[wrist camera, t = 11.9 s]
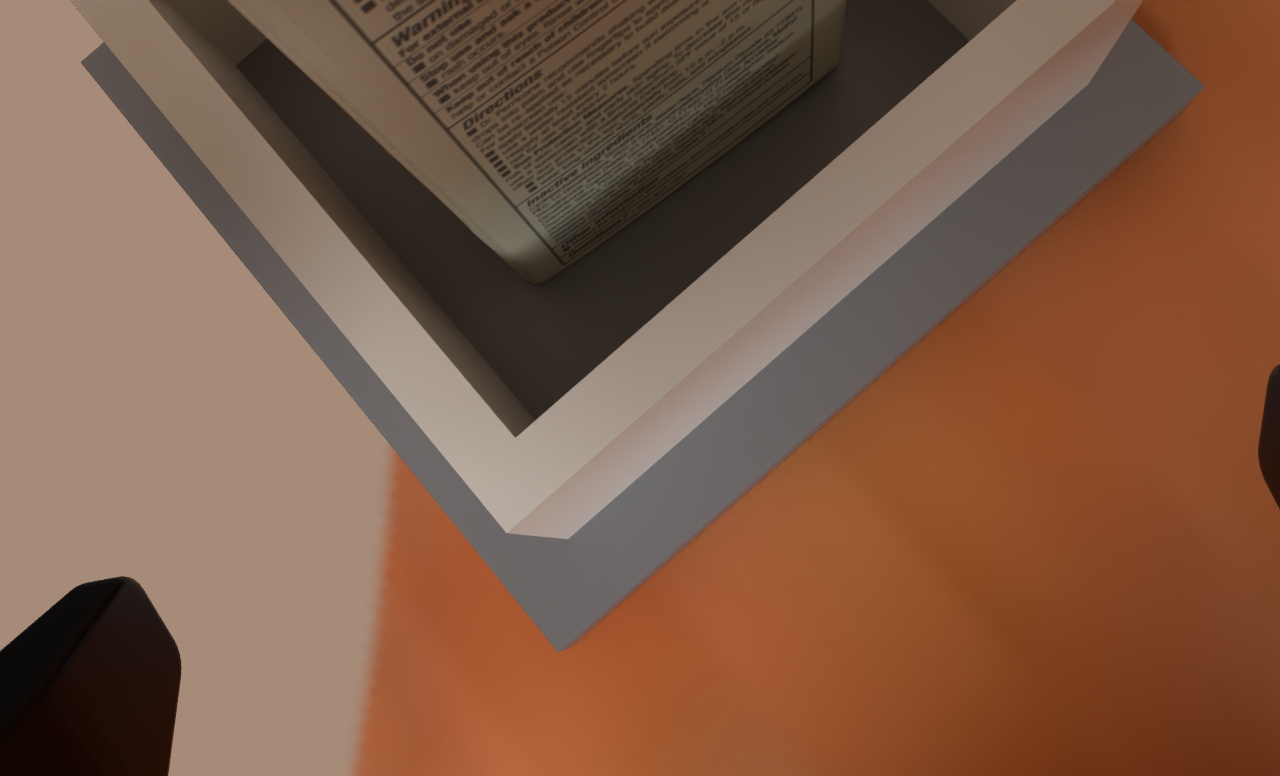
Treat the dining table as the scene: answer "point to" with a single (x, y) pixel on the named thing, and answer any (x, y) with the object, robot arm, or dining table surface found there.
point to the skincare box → (555, 99)
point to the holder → (646, 263)
